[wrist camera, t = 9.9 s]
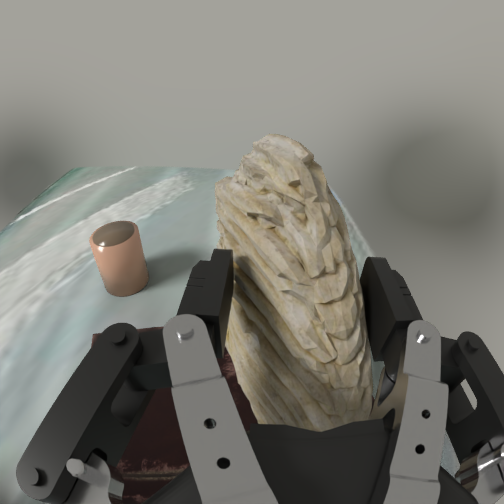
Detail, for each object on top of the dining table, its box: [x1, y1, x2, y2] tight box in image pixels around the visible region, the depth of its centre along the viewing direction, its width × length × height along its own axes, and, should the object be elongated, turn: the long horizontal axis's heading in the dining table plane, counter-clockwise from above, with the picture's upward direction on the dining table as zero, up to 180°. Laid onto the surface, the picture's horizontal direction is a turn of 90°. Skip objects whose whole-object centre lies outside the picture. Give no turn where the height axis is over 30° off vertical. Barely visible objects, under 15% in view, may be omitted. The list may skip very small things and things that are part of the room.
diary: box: [91, 327, 375, 504], centre depth 23 cm, size 19×25×5 cm
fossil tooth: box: [215, 134, 373, 432], centre depth 13 cm, size 12×6×15 cm
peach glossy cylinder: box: [89, 221, 149, 297], centre depth 37 cm, size 7×7×8 cm
